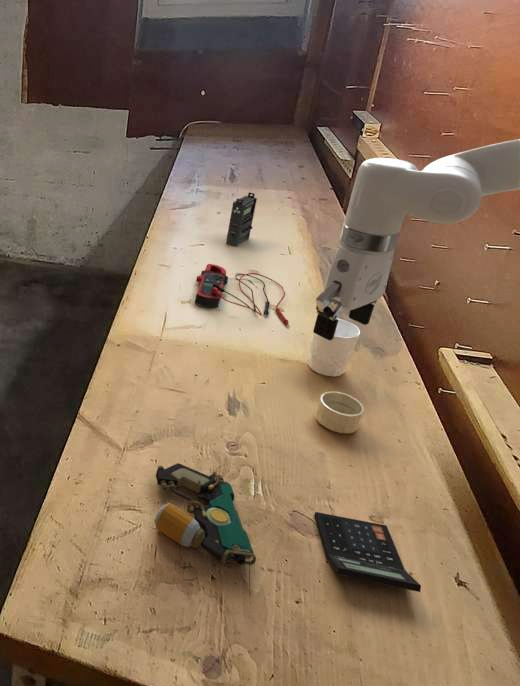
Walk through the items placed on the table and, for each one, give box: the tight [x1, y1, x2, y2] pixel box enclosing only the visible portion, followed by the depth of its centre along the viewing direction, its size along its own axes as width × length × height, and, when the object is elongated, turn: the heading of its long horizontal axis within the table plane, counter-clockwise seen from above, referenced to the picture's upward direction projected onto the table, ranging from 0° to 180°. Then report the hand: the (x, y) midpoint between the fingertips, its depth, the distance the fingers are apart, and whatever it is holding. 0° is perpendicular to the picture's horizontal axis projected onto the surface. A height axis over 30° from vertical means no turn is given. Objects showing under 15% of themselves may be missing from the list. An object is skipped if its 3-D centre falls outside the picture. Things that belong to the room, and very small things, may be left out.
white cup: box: [307, 317, 361, 377], centre depth 116 cm, size 8×8×10 cm
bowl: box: [314, 391, 365, 434], centre depth 102 cm, size 7×7×4 cm
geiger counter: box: [225, 191, 258, 247], centre depth 175 cm, size 10×4×15 cm, turn 132°
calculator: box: [313, 511, 422, 593], centre depth 78 cm, size 9×12×3 cm
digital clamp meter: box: [194, 263, 291, 328], centre depth 146 cm, size 23×4×25 cm
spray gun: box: [154, 462, 257, 566], centre depth 85 cm, size 4×17×15 cm
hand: (340, 328), depth 97 cm, fingers open, 9 cm apart
